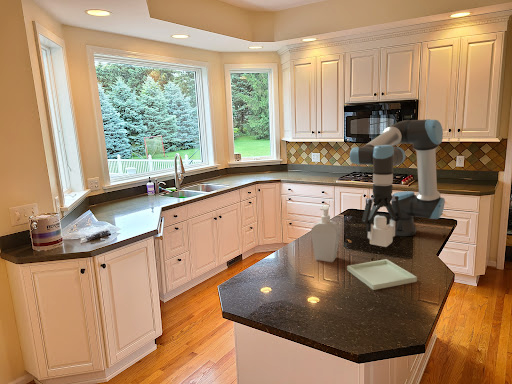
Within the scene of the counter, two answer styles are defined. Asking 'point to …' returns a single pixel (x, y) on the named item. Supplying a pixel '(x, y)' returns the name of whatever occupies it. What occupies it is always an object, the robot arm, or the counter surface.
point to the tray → (381, 274)
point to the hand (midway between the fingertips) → (381, 237)
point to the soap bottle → (325, 237)
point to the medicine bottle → (382, 231)
